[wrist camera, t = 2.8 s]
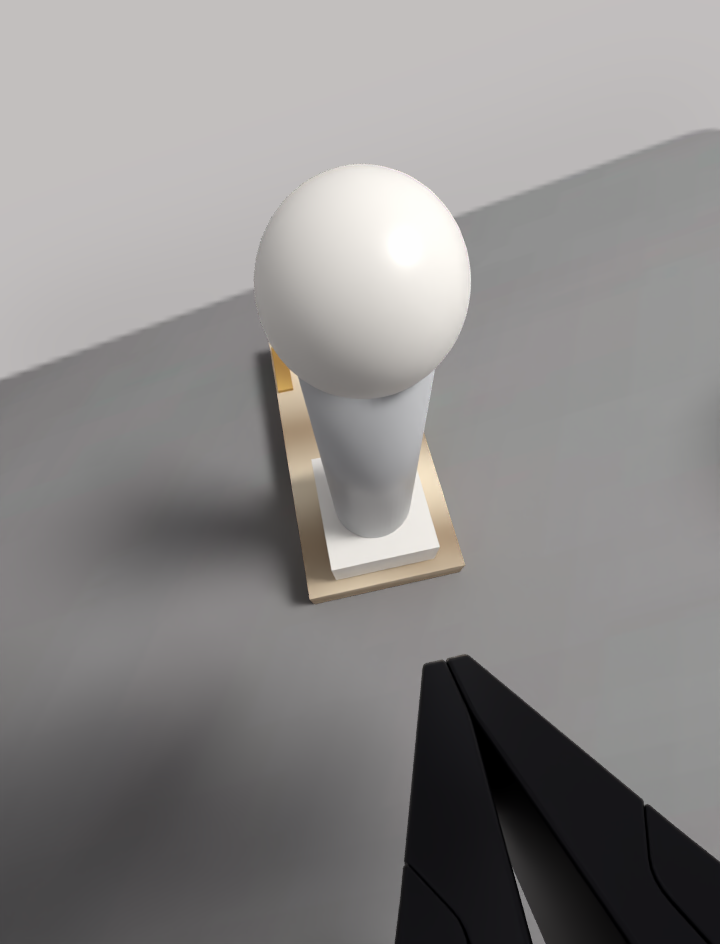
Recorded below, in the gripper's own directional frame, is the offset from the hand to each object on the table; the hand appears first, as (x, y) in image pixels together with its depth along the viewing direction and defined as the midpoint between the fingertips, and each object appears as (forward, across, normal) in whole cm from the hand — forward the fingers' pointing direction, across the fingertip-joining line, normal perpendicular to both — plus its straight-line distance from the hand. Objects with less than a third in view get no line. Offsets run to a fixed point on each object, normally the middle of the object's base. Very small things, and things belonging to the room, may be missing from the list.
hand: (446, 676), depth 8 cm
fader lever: (+12, 0, +3) cm, 12 cm away
